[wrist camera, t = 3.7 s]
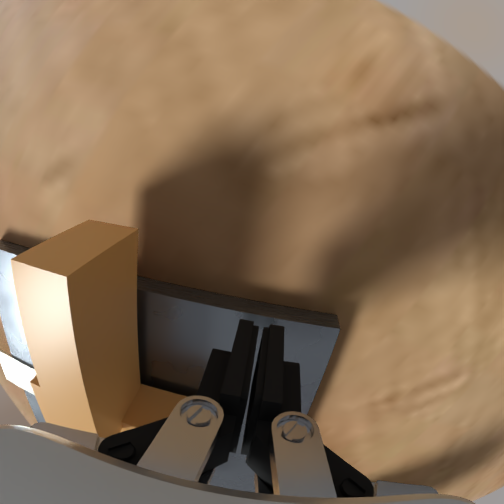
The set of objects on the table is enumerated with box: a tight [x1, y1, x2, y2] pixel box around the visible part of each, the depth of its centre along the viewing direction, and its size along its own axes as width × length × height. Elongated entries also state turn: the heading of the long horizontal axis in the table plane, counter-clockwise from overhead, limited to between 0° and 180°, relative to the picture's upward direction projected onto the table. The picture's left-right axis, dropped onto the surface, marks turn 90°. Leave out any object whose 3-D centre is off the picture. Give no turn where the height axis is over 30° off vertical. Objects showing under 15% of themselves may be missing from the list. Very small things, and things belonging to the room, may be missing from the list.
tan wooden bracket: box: [11, 220, 187, 438], centre depth 13 cm, size 9×18×5 cm, turn 171°
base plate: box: [0, 240, 340, 492], centre depth 14 cm, size 22×20×9 cm
